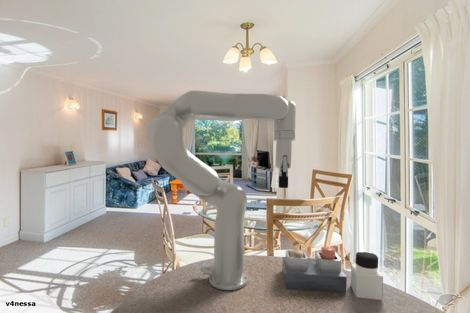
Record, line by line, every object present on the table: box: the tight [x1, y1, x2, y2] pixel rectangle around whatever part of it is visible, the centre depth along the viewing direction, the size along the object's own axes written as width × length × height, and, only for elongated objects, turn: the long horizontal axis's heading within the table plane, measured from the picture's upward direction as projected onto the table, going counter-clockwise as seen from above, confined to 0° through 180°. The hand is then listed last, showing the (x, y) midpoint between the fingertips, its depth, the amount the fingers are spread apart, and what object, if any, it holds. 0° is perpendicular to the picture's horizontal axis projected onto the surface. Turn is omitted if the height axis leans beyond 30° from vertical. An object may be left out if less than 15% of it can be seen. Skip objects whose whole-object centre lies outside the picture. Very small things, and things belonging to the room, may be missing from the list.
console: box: [281, 249, 348, 294], centre depth 86 cm, size 18×12×9 cm, turn 84°
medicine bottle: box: [350, 250, 384, 301], centre depth 79 cm, size 7×7×12 cm
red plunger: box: [320, 246, 336, 259], centre depth 85 cm, size 4×4×4 cm
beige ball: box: [290, 249, 303, 258], centre depth 86 cm, size 4×4×4 cm
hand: (283, 187), depth 95 cm, fingers closed
